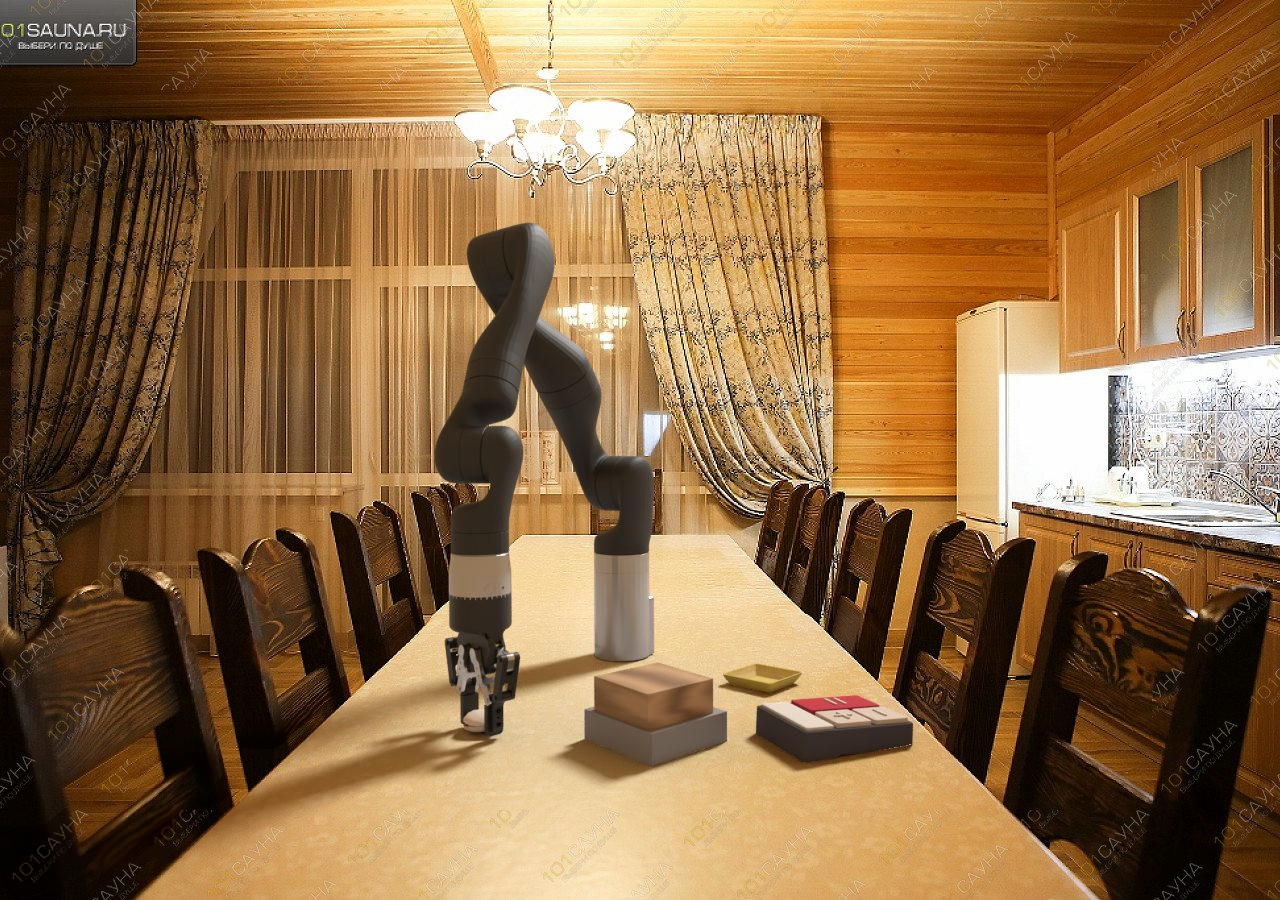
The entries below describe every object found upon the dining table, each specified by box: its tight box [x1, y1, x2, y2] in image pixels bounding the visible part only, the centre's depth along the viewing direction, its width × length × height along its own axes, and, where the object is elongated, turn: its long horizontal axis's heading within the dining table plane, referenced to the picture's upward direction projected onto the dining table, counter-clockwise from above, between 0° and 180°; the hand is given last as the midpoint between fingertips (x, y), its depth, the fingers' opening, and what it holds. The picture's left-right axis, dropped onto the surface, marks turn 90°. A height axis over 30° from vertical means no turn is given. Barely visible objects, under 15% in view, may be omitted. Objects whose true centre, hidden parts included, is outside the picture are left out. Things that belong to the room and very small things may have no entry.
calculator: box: [755, 694, 914, 764], centre depth 103 cm, size 11×4×15 cm
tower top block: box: [593, 662, 714, 731], centre depth 102 cm, size 10×10×4 cm
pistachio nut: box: [462, 708, 484, 733], centre depth 105 cm, size 4×5×2 cm
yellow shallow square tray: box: [722, 663, 803, 694], centre depth 126 cm, size 9×9×2 cm
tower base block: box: [583, 706, 728, 767], centre depth 103 cm, size 12×12×4 cm
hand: (481, 728), depth 105 cm, fingers closed on pistachio nut, 5 cm apart
